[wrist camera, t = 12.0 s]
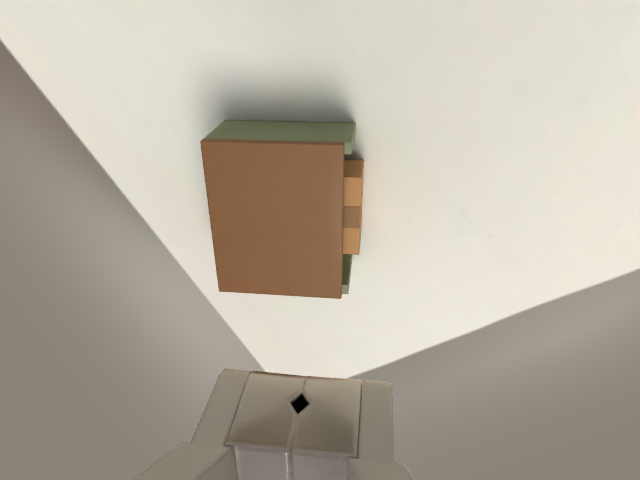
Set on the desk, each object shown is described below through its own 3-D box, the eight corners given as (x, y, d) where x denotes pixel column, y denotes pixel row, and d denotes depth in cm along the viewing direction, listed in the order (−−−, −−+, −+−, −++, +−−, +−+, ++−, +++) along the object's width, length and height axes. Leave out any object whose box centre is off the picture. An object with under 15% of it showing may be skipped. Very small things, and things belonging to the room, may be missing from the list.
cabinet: (355, 122, 37) (351, 145, 32) (351, 261, 43) (347, 299, 38) (225, 119, 38) (200, 141, 33) (238, 255, 44) (218, 291, 39)
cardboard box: (363, 159, 39) (362, 177, 35) (361, 232, 42) (359, 255, 38) (271, 157, 40) (260, 174, 36) (275, 228, 43) (265, 250, 39)
